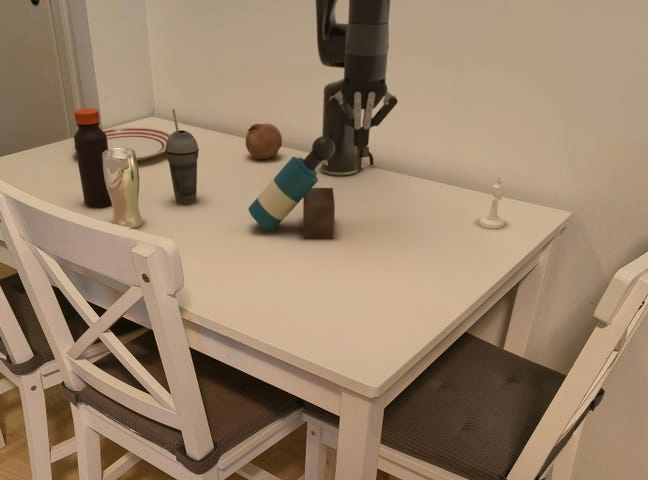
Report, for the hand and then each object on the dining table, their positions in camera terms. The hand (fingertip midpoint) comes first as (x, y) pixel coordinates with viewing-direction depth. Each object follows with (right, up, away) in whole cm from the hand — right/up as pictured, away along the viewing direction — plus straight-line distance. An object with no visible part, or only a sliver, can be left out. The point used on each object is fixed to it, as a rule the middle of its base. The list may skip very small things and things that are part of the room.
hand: (360, 147), depth 131 cm
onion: (-19, +13, +50) cm, 55 cm away
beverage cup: (-36, -5, +23) cm, 43 cm away
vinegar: (-56, -5, +23) cm, 60 cm away
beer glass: (-47, -12, +12) cm, 50 cm away
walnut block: (-8, -14, +9) cm, 18 cm away
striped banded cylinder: (-13, -14, +10) cm, 21 cm away
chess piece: (+29, -12, +11) cm, 33 cm away
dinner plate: (-57, +15, +54) cm, 80 cm away
